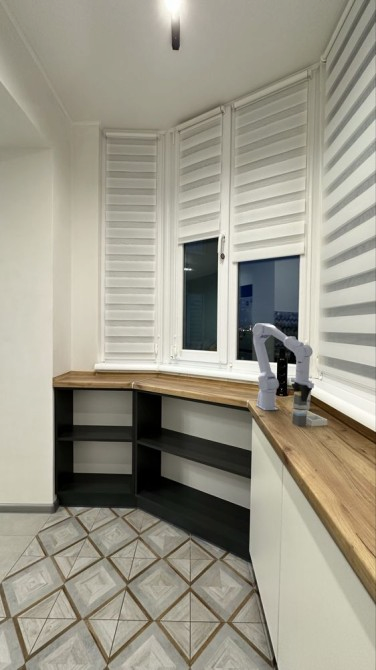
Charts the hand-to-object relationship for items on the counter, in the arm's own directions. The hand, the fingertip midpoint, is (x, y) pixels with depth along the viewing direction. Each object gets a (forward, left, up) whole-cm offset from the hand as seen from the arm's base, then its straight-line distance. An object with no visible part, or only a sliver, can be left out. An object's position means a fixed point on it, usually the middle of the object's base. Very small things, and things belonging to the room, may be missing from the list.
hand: (301, 400), depth 139 cm
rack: (+4, +2, -9) cm, 10 cm away
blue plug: (+8, -6, -9) cm, 13 cm away
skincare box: (-15, +12, -9) cm, 21 cm away
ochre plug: (0, 0, -2) cm, 2 cm away
